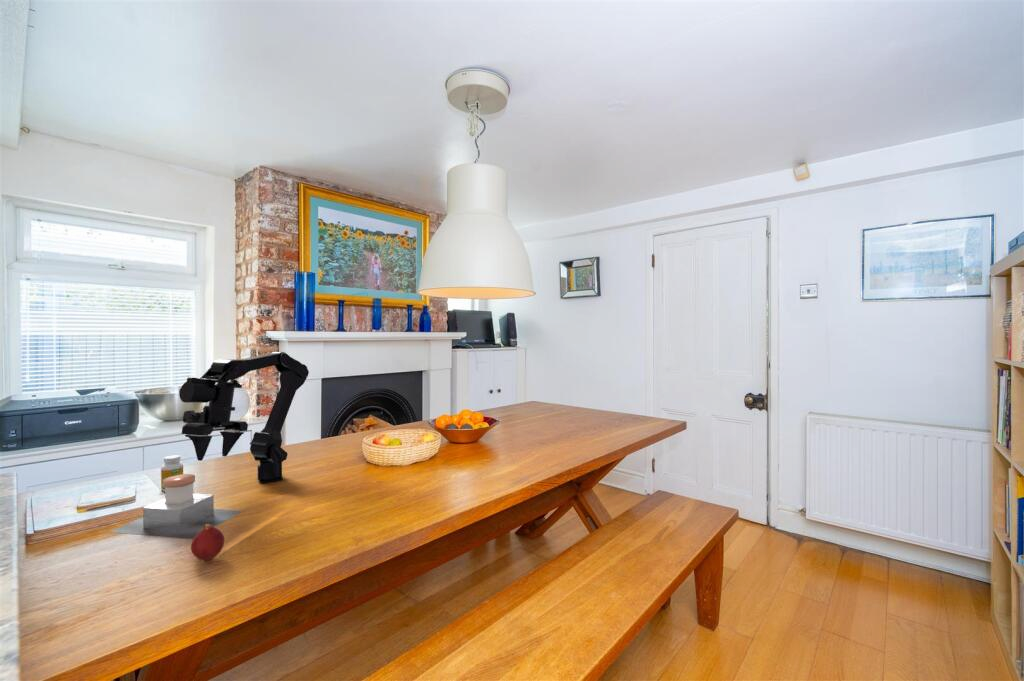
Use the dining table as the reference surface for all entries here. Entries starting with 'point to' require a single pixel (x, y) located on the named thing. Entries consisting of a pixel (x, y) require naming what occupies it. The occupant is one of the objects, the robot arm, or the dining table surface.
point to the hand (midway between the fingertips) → (212, 458)
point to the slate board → (186, 533)
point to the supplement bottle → (171, 468)
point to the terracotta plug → (179, 489)
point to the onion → (207, 543)
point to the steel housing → (178, 513)
